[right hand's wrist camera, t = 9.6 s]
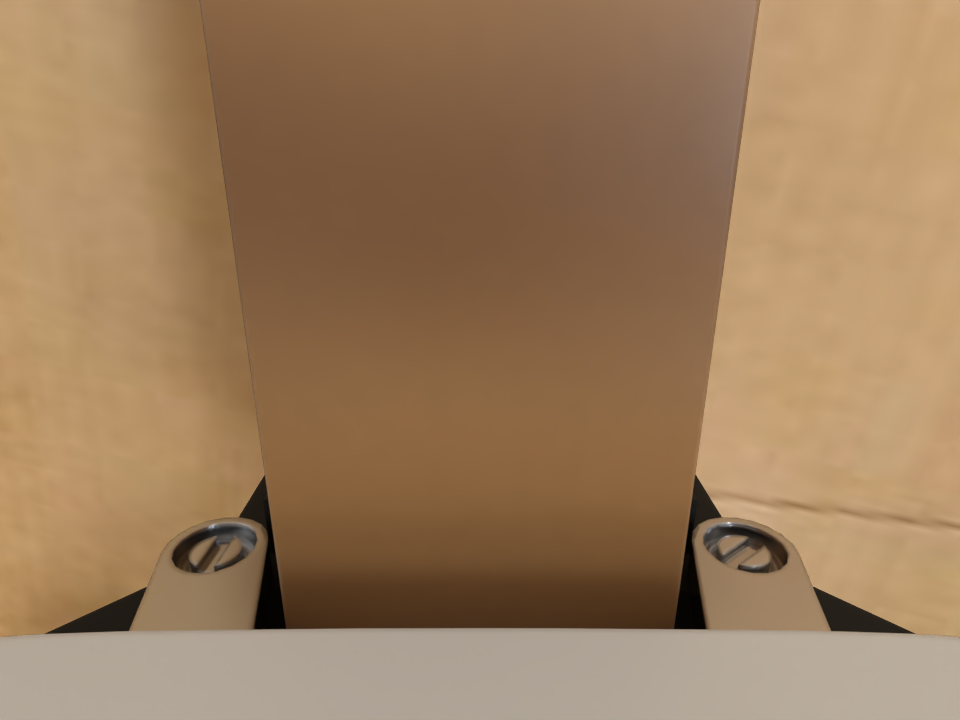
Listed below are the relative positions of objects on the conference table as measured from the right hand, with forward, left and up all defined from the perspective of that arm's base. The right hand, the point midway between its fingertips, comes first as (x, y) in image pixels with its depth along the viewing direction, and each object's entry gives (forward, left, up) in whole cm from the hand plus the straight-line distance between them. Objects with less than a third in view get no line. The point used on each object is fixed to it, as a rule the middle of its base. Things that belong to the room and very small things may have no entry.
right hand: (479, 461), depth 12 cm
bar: (+28, -6, -3) cm, 29 cm away
